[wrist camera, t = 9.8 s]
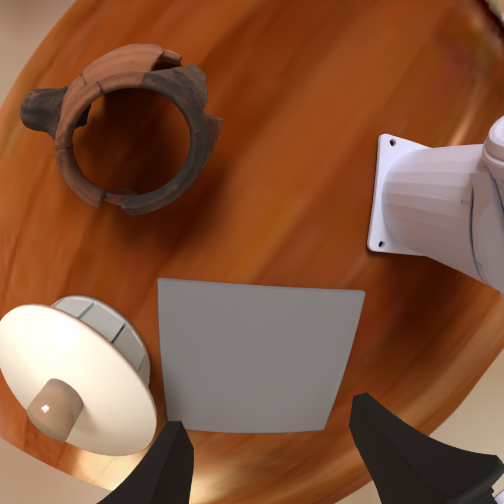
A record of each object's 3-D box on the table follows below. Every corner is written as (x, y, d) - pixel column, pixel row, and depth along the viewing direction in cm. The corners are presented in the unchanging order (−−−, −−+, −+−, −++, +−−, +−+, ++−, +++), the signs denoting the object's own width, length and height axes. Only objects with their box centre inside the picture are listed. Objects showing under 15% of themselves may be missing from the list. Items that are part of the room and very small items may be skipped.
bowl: (146, 303, 18) (122, 340, 13) (156, 407, 21) (144, 449, 16) (35, 287, 17) (-2, 311, 13) (59, 384, 20) (37, 417, 15)
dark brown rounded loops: (226, 54, 15) (253, 62, 9) (195, 172, 21) (203, 242, 15) (57, 43, 11) (-10, 57, 5) (50, 162, 17) (4, 227, 11)
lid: (183, 368, 14) (172, 414, 11) (138, 468, 16) (130, 501, 13) (0, 267, 12) (-37, 285, 8) (7, 396, 14) (-12, 420, 11)
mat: (362, 290, 19) (365, 292, 19) (322, 426, 22) (323, 429, 22) (159, 277, 18) (157, 280, 17) (169, 423, 21) (168, 426, 21)
